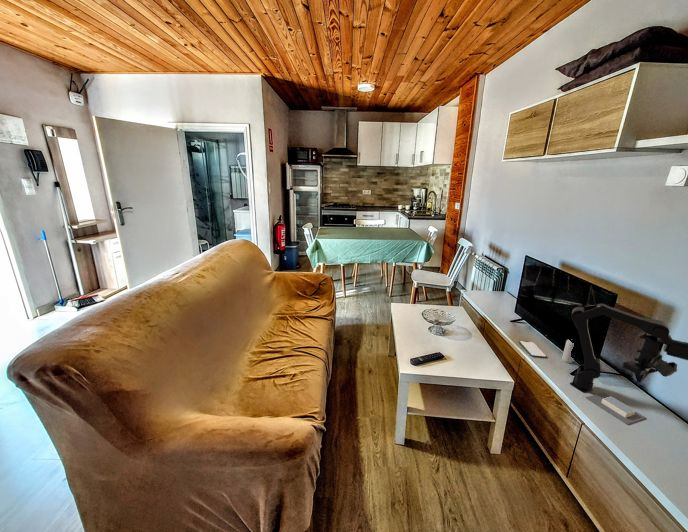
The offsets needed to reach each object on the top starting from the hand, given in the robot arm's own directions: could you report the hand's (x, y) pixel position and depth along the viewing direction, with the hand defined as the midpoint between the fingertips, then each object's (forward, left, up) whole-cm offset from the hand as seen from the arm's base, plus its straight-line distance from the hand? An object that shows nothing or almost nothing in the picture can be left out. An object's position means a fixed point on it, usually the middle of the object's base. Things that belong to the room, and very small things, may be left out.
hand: (638, 382), depth 128 cm
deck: (0, -6, -10) cm, 12 cm away
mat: (-1, -9, -12) cm, 15 cm away
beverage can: (-33, +7, -12) cm, 36 cm away
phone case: (-47, -2, -13) cm, 48 cm away
